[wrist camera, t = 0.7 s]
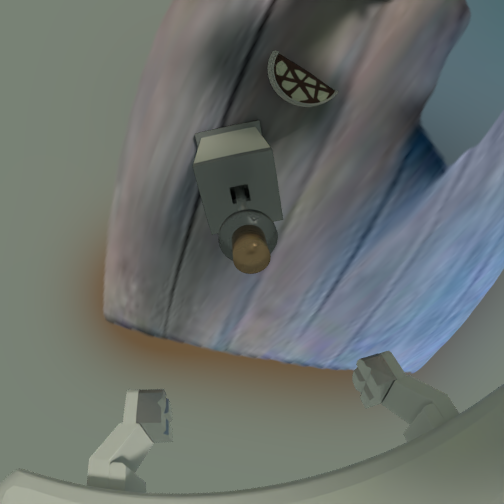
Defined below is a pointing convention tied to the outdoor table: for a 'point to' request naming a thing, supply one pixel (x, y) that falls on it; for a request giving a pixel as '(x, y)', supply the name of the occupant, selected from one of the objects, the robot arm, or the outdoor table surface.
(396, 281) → the outdoor table surface
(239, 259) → the plunger
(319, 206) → the outdoor table surface
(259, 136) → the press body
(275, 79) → the half citrus wheel toy
